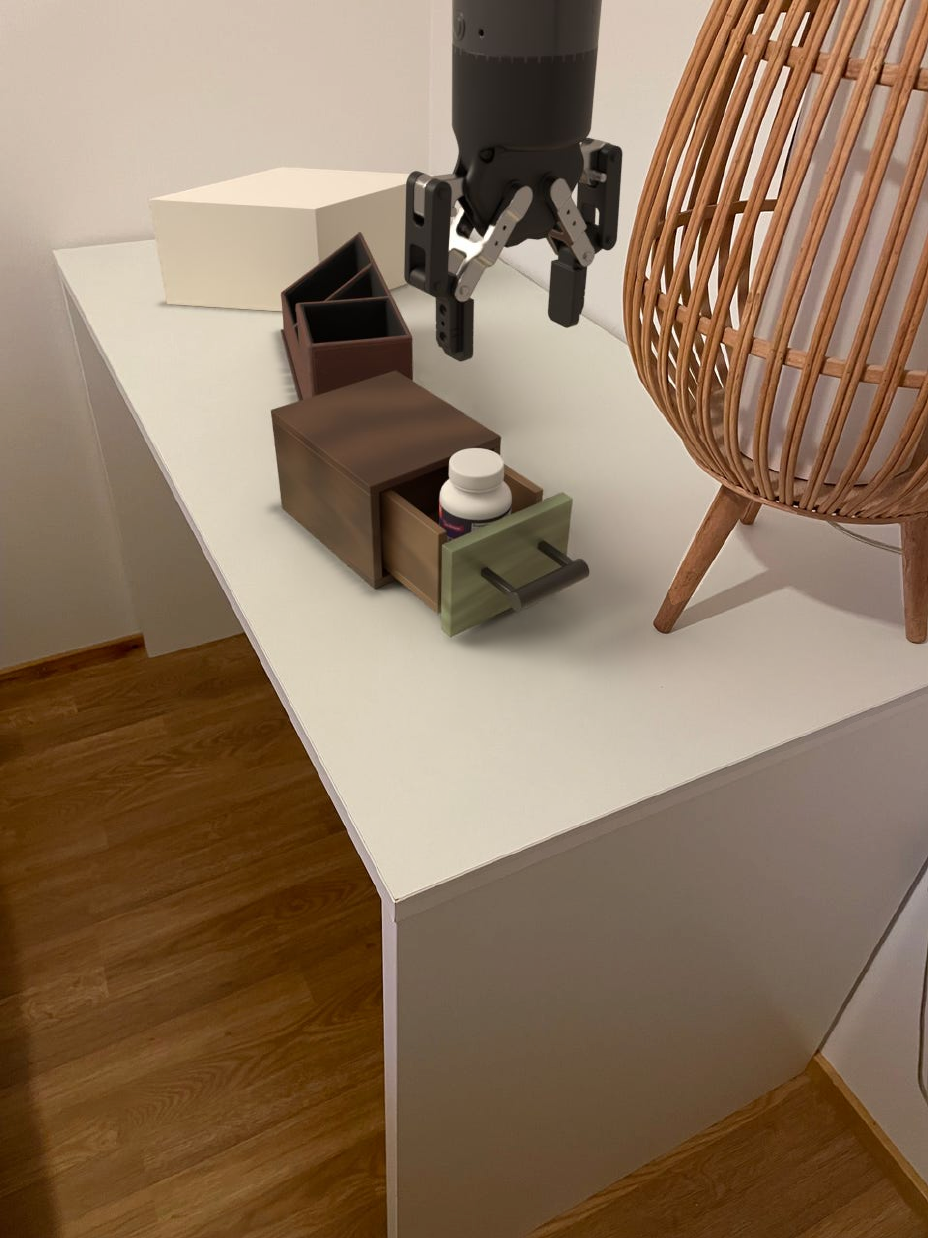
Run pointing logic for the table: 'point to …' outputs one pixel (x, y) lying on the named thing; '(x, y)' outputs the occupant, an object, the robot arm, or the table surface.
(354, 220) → the block
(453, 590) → the drawer
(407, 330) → the desk organizer
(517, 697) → the table surface
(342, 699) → the table surface
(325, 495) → the cabinet
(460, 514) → the pill bottle
